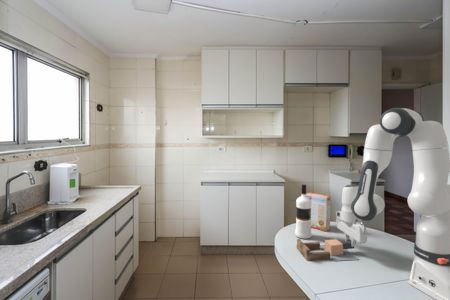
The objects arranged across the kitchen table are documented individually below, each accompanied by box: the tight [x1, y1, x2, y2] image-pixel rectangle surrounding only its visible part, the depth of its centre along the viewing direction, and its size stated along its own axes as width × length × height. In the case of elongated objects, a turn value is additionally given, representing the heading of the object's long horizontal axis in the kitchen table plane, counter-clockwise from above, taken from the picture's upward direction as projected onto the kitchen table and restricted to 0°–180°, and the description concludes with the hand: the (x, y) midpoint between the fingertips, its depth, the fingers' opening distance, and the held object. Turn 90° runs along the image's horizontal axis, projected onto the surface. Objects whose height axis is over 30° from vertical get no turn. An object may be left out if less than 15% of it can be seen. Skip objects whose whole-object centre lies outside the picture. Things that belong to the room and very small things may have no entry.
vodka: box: [294, 184, 313, 240], centre depth 144 cm, size 9×9×30 cm
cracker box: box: [306, 192, 331, 232], centre depth 158 cm, size 14×6×21 cm, turn 44°
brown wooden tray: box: [296, 238, 331, 261], centre depth 124 cm, size 12×12×5 cm
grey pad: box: [320, 244, 360, 262], centre depth 125 cm, size 16×12×1 cm
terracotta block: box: [324, 238, 355, 256], centre depth 125 cm, size 6×13×5 cm, turn 96°
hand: (350, 244), depth 125 cm, fingers closed on terracotta block, 2 cm apart
